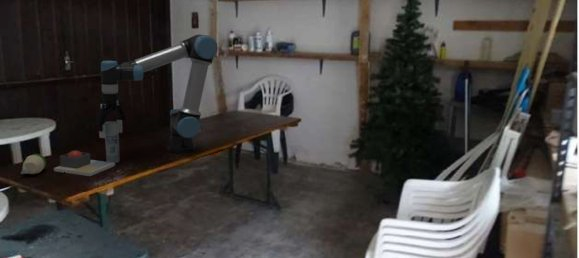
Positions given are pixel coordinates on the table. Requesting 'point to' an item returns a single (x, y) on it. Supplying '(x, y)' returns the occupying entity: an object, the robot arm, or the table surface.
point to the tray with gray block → (82, 165)
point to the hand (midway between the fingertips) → (111, 135)
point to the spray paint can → (112, 142)
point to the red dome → (75, 154)
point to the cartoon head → (33, 164)
